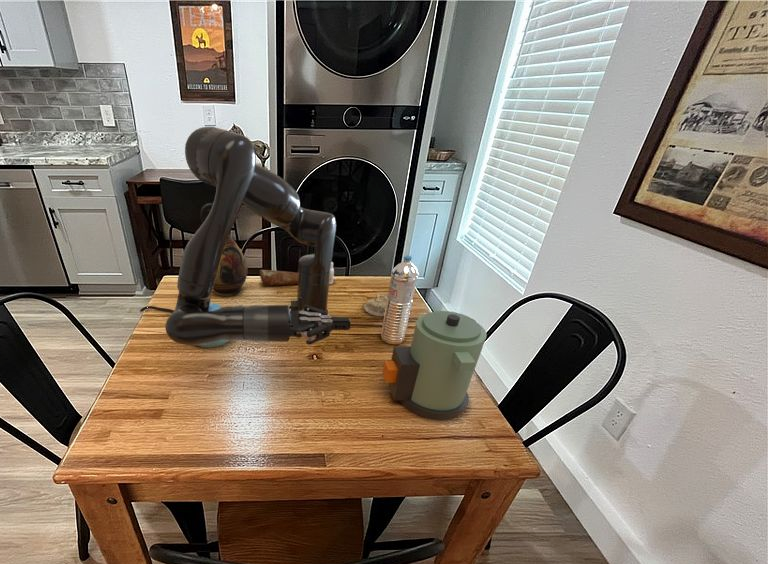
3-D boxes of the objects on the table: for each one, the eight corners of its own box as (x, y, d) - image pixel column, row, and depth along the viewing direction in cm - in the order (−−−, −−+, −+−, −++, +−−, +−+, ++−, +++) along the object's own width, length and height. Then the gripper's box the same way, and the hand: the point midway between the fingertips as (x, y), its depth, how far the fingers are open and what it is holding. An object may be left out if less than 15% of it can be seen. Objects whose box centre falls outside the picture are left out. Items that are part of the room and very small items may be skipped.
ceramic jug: (243, 280, 147) (239, 197, 130) (252, 297, 135) (248, 208, 118) (198, 284, 143) (187, 199, 126) (203, 302, 131) (191, 211, 114)
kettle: (400, 428, 83) (421, 344, 71) (378, 367, 102) (391, 291, 89) (482, 428, 83) (517, 344, 71) (445, 367, 102) (468, 292, 90)
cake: (398, 309, 130) (402, 295, 127) (385, 321, 123) (389, 306, 120) (371, 299, 134) (374, 285, 131) (358, 310, 128) (361, 295, 124)
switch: (385, 382, 87) (388, 370, 85) (382, 373, 90) (384, 360, 88) (396, 382, 87) (399, 370, 85) (392, 373, 90) (395, 360, 88)
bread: (259, 281, 146) (259, 267, 143) (309, 280, 148) (310, 266, 145) (260, 288, 141) (259, 274, 138) (311, 287, 143) (312, 272, 139)
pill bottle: (334, 281, 148) (335, 261, 143) (331, 285, 144) (333, 265, 140) (323, 279, 149) (324, 260, 144) (320, 283, 145) (321, 264, 141)
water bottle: (404, 346, 110) (422, 262, 95) (380, 344, 111) (394, 260, 97) (403, 334, 115) (420, 253, 101) (380, 332, 116) (394, 251, 102)
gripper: (265, 323, 72) (357, 323, 73) (267, 293, 83) (347, 293, 83) (266, 356, 76) (353, 356, 77) (267, 323, 87) (343, 323, 88)
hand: (349, 323), depth 80 cm, fingers closed
